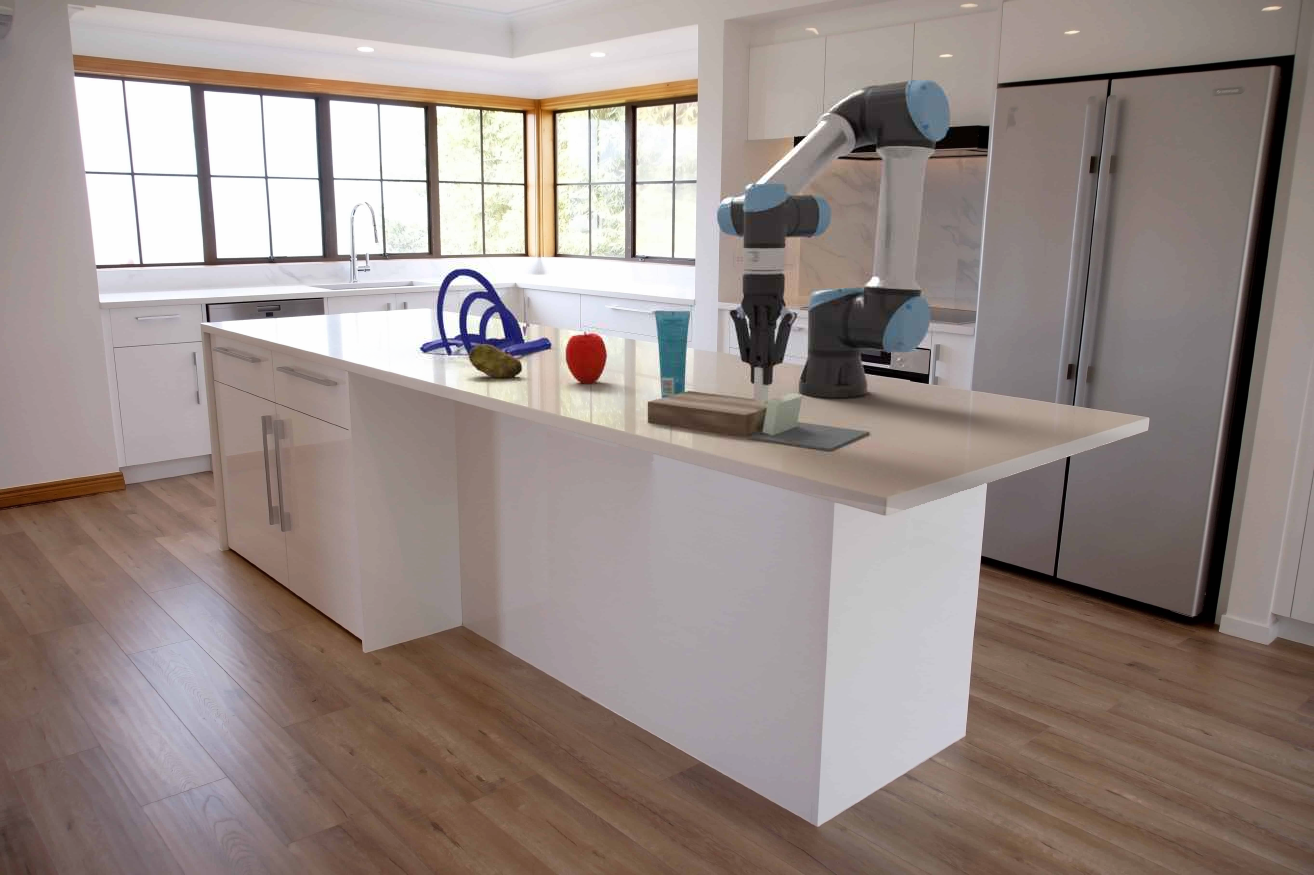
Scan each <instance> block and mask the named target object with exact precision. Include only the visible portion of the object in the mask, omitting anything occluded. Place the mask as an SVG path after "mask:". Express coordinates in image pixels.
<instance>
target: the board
mask: <svg viewBox="0 0 1314 875" xmlns="http://www.w3.org/2000/svg"><path fill="white" fill-rule="evenodd" d="M767 405H768V401H767V402H764V403H754V398H750V397H749V398H747V397H741V396H733V395H725V394H715V393H710V392H700V391H691V390H687V391H685V392H683V393H679V394H675V395H672V396H668V397H664V398H662V397H661V398H658V399H653V400H649V401H647V423H650V424H657V425H664V426H672V427H677V428H683V429H691V430H697V431H703V432H704V431H705V432H709V433H716V434H717V433H718V434H723V435H730V436H737V437H743V438H748V436H751V435H754V434H757V433H759V432H762V431H763V427H764V421H765V416H766V410H767Z"/></svg>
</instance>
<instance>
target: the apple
mask: <svg viewBox="0 0 1314 875" xmlns="http://www.w3.org/2000/svg"><path fill="white" fill-rule="evenodd" d="M583 333H584V334H575V335H571V337H570V338H569V339H568V342H567V344H566V348H565V362H566V365H567V367H568V370H569V372H570V373H571V375H572V376H573V378H574V379H575V380H576V381H578V383H581V384H593V383H596V382H597V381H598V380H599V379H600V377H601V376H602V374H603V371H604V370H605V367H606V363H607V357H608V355H607V354H608V353H607V347H606V344H605V342H604V340H603V338H602V337H601V336H600V335H599V334H597V333H593V332H592V333H586V331H584V332H583Z"/></svg>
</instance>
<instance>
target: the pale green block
mask: <svg viewBox="0 0 1314 875" xmlns="http://www.w3.org/2000/svg"><path fill="white" fill-rule="evenodd" d="M802 400H803V395H800V394H797V393H795V392H792V393H789V394H786V395H783V396H779V397H775V398H773V399H768V405H767V410H766V416H765V421H764V427H763V433H766V434H769V435H775V434H778V433H780V432H783V431H786V430H789V429H791V428H794V427H797V422H799V415H800V411H801V405H802Z"/></svg>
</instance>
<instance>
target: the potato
mask: <svg viewBox="0 0 1314 875" xmlns="http://www.w3.org/2000/svg"><path fill="white" fill-rule="evenodd" d="M468 358H469V363H471V365H472V366H473V367H474V368H475V369H476V370H477V371H479V372H481V373H483V374H484V375H486V376H488V377H491V378H494V379H506V378H514V377H516V376H518V375H519V374H520V373H521V372H522V371H523V365H522V362H521V361H520V360H519V359H518V358H516V356H511V355H510V354H507V353H505V352H503V351H501V350H500V349H498V348H496V347H494V346H492V345H488V344H479V345H477V346H475V347H473V348H472V349H471V350H470V352H469V354H468Z"/></svg>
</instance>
